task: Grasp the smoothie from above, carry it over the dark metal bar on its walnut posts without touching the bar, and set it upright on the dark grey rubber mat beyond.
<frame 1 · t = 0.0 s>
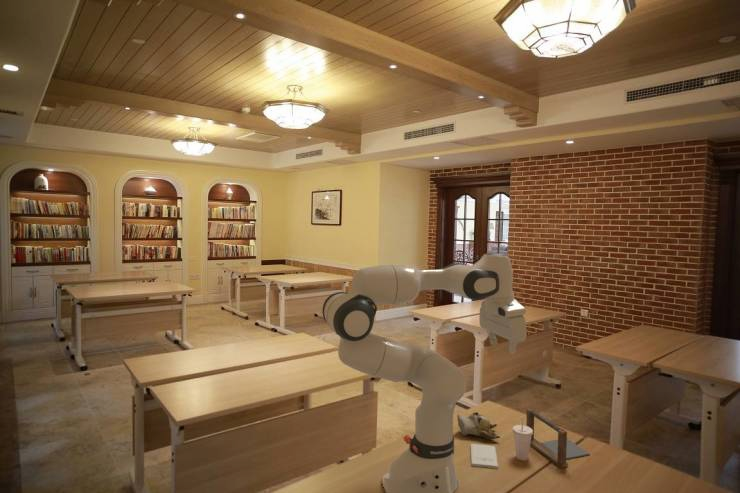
hand: (502, 348, 139), 39 cm above the table, fingers open, 8 cm apart
smoothie: (522, 458, 148), on the table
bar hurdle: (544, 453, 151), on the table
external hard drive: (483, 459, 149), on the table
ceramic sculpture: (477, 435, 164), on the table
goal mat: (564, 449, 153), on the table
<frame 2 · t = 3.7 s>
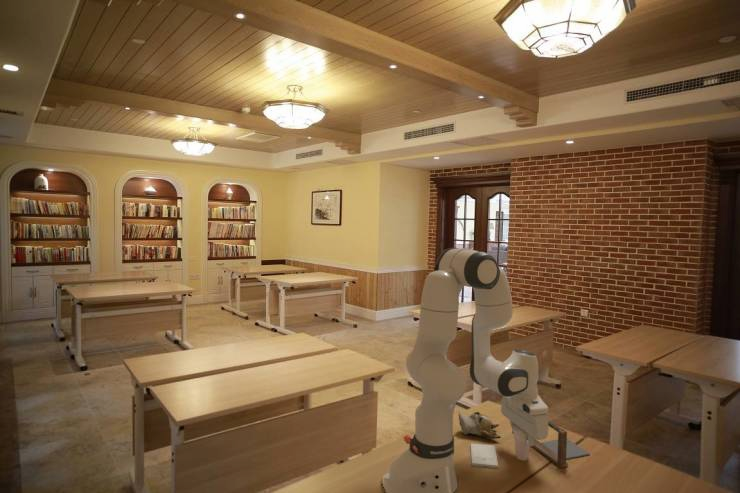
hand: (522, 439, 148), 6 cm above the table, fingers closed on smoothie, 6 cm apart
smoothie: (522, 457, 148), on the table, touching gripper
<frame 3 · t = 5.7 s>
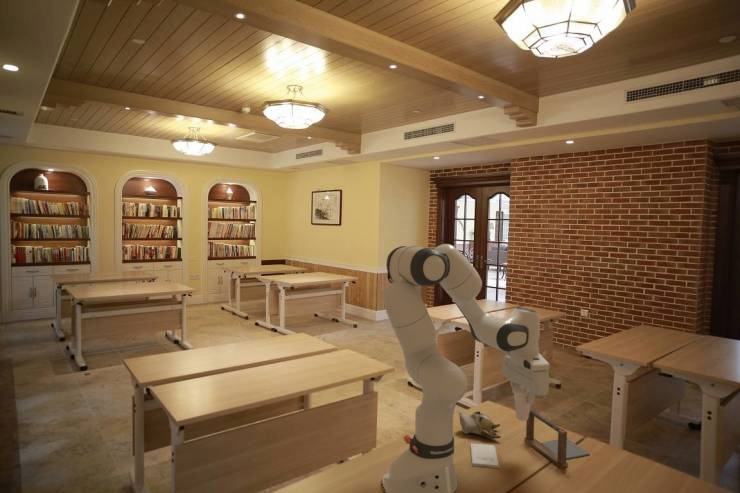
hand: (522, 398, 147), 20 cm above the table, fingers closed on smoothie, 6 cm apart
smoothie: (522, 418, 147), point 13 cm above the table, touching gripper
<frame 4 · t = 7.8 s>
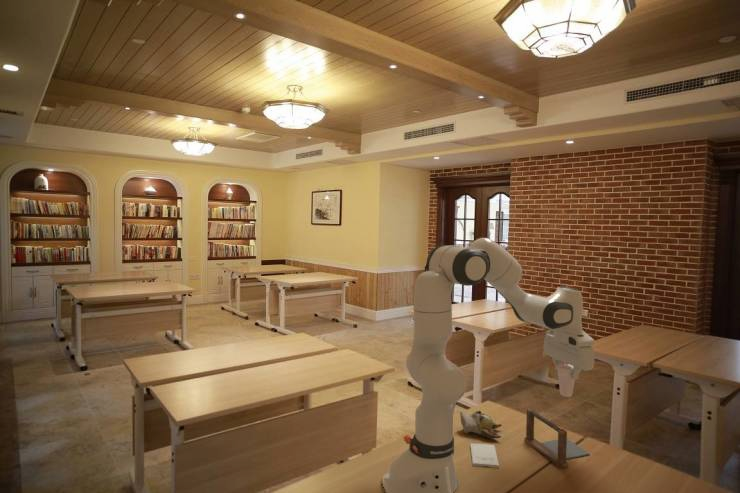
hand: (566, 374, 151), 26 cm above the table, fingers closed on smoothie, 6 cm apart
smoothie: (566, 395, 152), point 19 cm above the table, touching gripper
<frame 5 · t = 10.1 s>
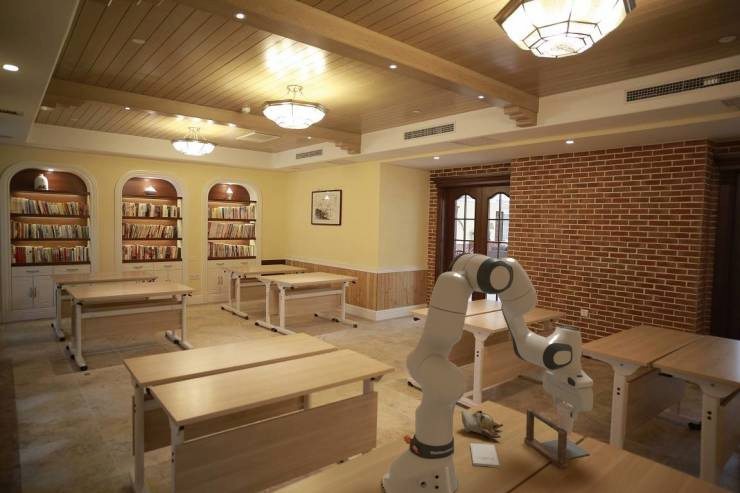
hand: (565, 413, 152), 13 cm above the table, fingers closed on smoothie, 6 cm apart
smoothie: (565, 433, 153), point 6 cm above the table, touching gripper
when the fingers open (8 cm above the table, at t = 12.1 s): smoothie moves 1 cm, resting on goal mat.
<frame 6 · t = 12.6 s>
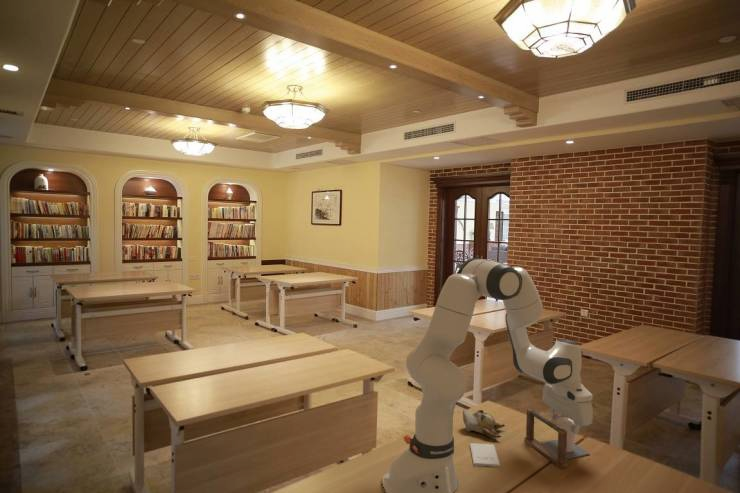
hand: (565, 426, 153), 8 cm above the table, fingers open, 8 cm apart
smoothie: (566, 449, 152), resting on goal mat, touching gripper
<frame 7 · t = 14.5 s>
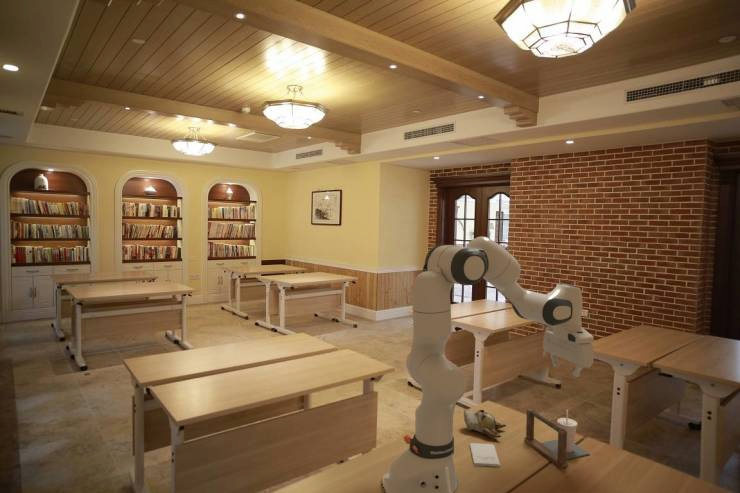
hand: (565, 371, 152), 27 cm above the table, fingers open, 8 cm apart
smoothie: (566, 449, 152), resting on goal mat
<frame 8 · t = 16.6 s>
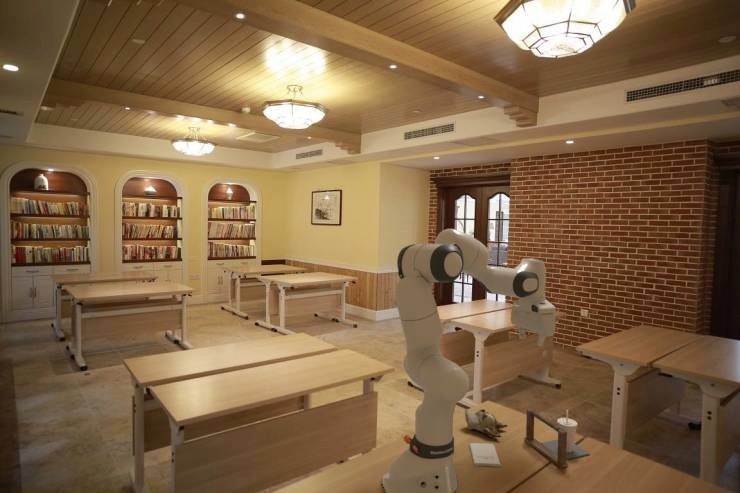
hand: (531, 342, 158), 35 cm above the table, fingers open, 8 cm apart
at the end: smoothie inside the target area on the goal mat (1.0 cm from its centre), point 0.3 cm above the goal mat's base; smoothie tilted 0°; smoothie touching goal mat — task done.
